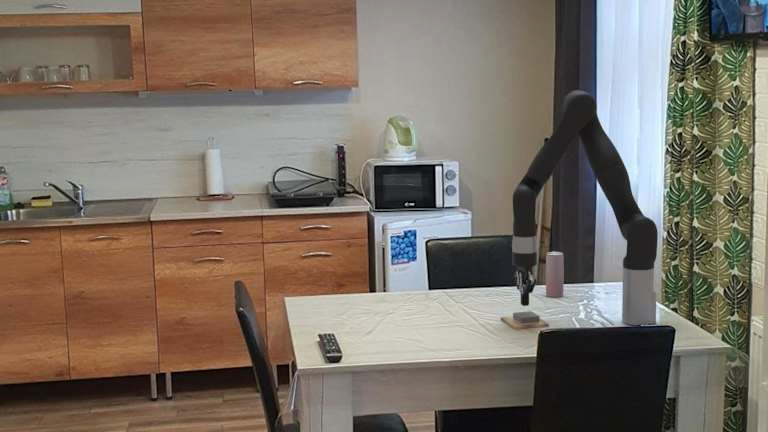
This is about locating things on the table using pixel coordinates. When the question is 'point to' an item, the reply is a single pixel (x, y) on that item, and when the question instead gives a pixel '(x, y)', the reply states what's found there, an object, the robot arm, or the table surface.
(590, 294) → the table surface
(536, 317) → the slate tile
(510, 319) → the tan wavy tile
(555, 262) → the beverage can
